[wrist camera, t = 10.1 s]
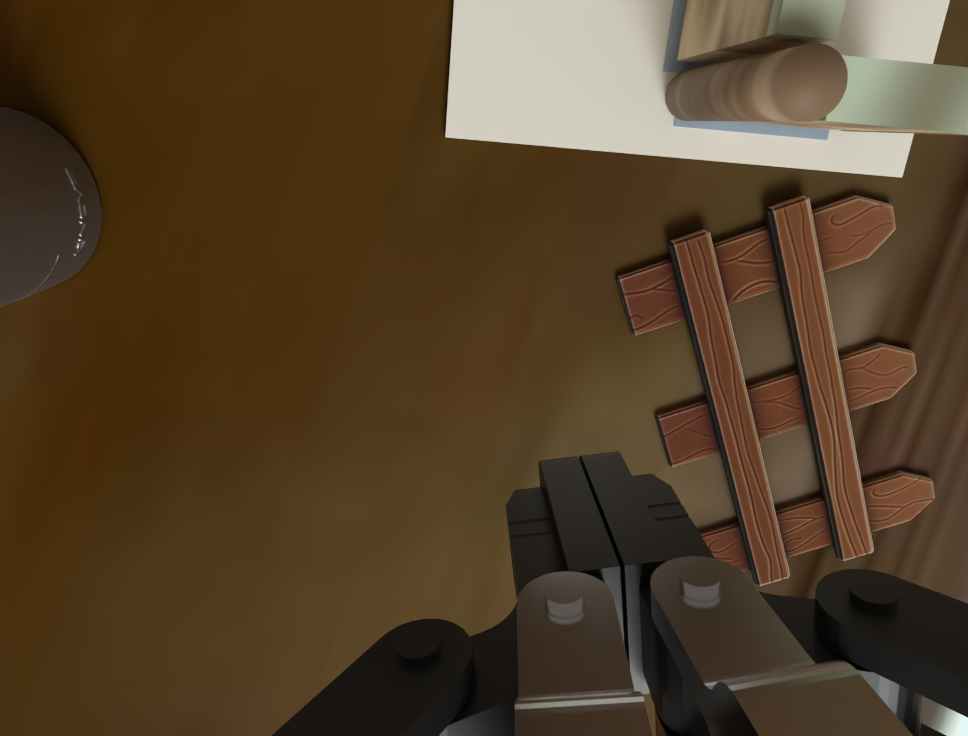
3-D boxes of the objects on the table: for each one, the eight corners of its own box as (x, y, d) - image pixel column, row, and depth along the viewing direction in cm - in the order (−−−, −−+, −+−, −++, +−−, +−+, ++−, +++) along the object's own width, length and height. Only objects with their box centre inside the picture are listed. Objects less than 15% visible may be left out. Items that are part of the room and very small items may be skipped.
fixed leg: (661, 118, 36) (767, 118, 24) (669, 67, 35) (783, 39, 23) (862, 137, 36) (1067, 146, 24) (874, 87, 36) (1093, 70, 23)
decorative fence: (701, 585, 47) (928, 517, 46) (710, 603, 45) (946, 532, 44) (607, 256, 39) (875, 164, 38) (614, 262, 38) (894, 166, 36)
